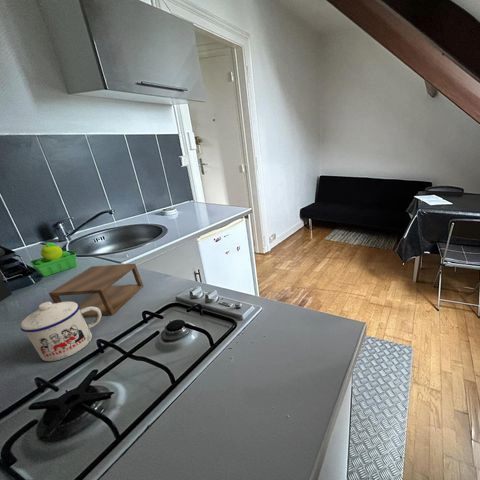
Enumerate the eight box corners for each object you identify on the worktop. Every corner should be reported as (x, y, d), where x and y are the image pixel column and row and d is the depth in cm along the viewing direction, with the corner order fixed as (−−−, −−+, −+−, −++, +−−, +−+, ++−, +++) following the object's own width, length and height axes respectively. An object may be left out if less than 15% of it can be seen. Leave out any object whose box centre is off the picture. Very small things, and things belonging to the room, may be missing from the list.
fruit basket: (76, 261, 102) (63, 234, 97) (83, 266, 97) (70, 238, 92) (35, 274, 93) (19, 245, 89) (41, 280, 88) (24, 250, 84)
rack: (62, 318, 68) (48, 293, 65) (101, 288, 81) (91, 266, 78) (112, 315, 68) (100, 289, 65) (143, 286, 81) (135, 263, 78)
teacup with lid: (41, 370, 53) (11, 325, 48) (39, 348, 58) (13, 306, 54) (112, 337, 61) (93, 295, 56) (105, 320, 66) (86, 281, 62)
